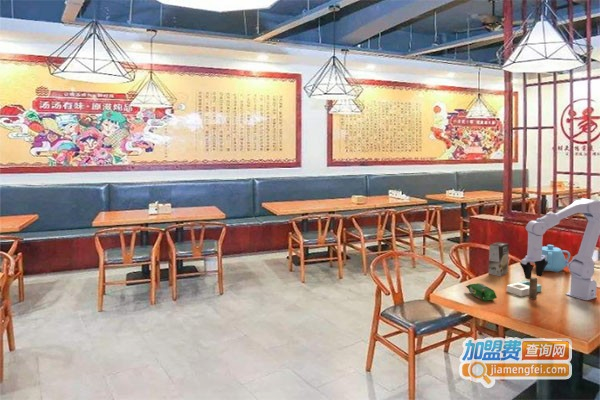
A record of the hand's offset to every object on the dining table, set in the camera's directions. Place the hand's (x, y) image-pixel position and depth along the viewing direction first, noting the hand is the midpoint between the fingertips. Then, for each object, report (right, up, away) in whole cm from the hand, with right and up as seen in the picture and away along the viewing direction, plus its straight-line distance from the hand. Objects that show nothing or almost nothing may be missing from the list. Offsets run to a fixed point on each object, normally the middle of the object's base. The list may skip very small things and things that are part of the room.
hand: (533, 277), depth 201 cm
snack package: (-22, -10, +5) cm, 24 cm away
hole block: (+1, -8, +10) cm, 13 cm away
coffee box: (+1, -5, +38) cm, 39 cm away
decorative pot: (+31, -3, +43) cm, 53 cm away
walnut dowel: (0, -9, +1) cm, 9 cm away
